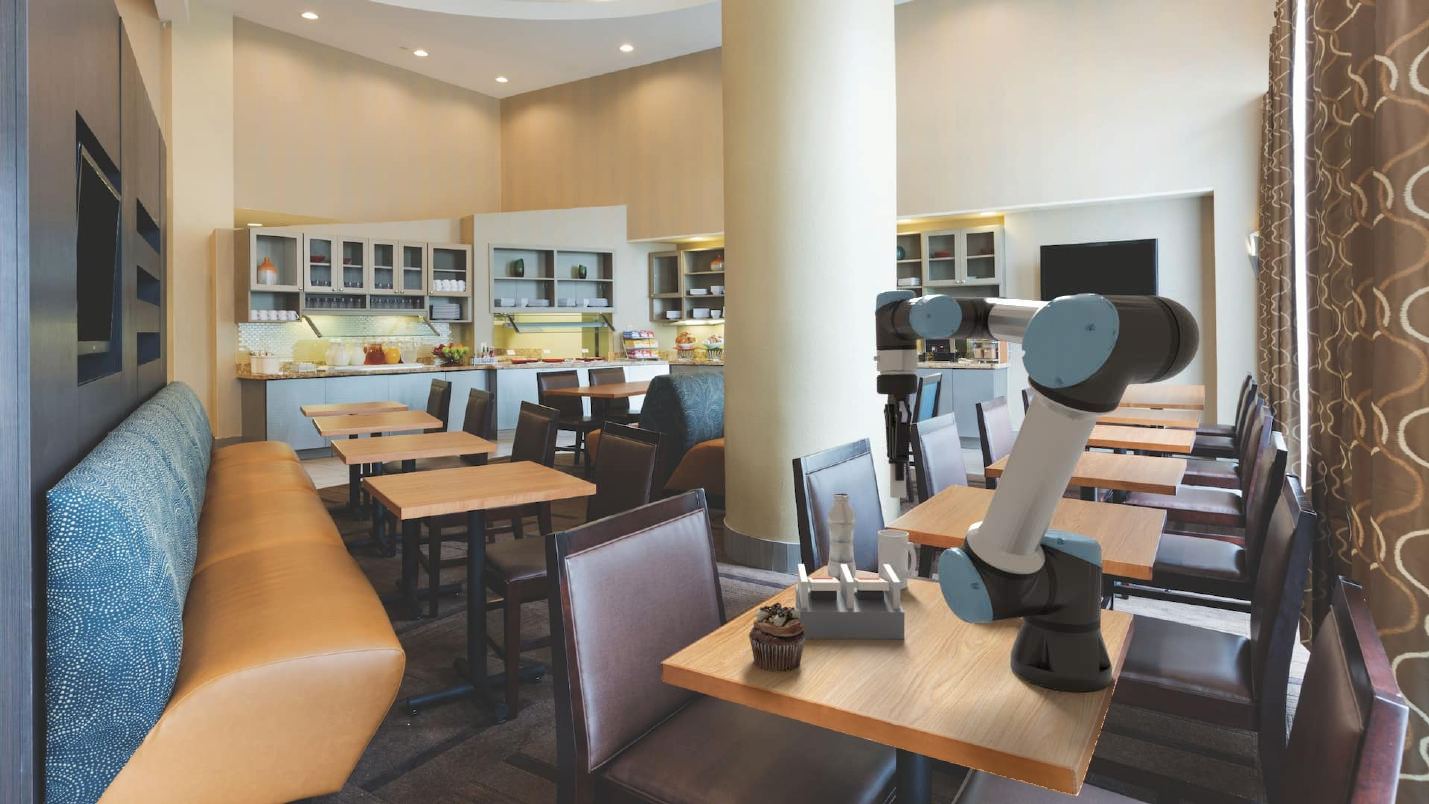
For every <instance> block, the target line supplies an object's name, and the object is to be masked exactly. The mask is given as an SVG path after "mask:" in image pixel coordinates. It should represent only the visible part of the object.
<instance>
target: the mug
mask: <svg viewBox="0 0 1429 804" xmlns="http://www.w3.org/2000/svg"><path fill="white" fill-rule="evenodd" d="M909 535H910V534H909V532H908V531H905V530H901V529H882V530H879V531H878V532H877V558H878V560H877V562H878V563H877V565H878V571H877V573H878V578H881V579H883V564H889V565H890V566H891V568H892V570H893V571H894V573H895V574H896V576H897V578H898V579H899V581H900V590H903V589H906V588H908V581H909V580H910V579H913V577H914V573H915V570H916V568H917V554H916V550H915V547H914V542H909V541H910V540H909V538H910V537H909ZM909 554H910V557H911V558H910V559H911V561H910V562H911V563H910V567H909ZM908 579H909V580H908Z"/></svg>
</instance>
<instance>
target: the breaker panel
mask: <svg viewBox="0 0 1429 804" xmlns="http://www.w3.org/2000/svg"><path fill="white" fill-rule="evenodd" d="M883 580H885V581H887V582H889V590H858V589H857V588H855V587H854V581H853V578H852V576H851V574H850V571H849V569H848V567H847V564H840V581H839V582H840V587H841V591H811V590H810V588H809V586H808V576H807V572H806V567H805V564H804V563H797V585H795V609H798V610H799V618H800V620H801V621H802V624H803V628H804V633H805V639H827V640H828V639H839V640H840V639H842V640H843V639H845V640H846V639H847V640H849V639H850V640H851V639H852V640H857V639H858V640H859V639H860V640H863V639H865V640H905V611H904V609H903V607H902V605H901V589H900V581H899V579H898V578H897V576H896V574H895V573H894V571H893V570H892V568H891V566H890V565H889V564H883Z"/></svg>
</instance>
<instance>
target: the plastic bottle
mask: <svg viewBox="0 0 1429 804" xmlns="http://www.w3.org/2000/svg"><path fill="white" fill-rule="evenodd" d="M832 503H834V504H833V505H832V507H831V508H830V509H829V511H828V512H827V516H826V517H827V525H828V532H829V552H828V553H829V556H828V563H827V568H826V569H827V570H826V571H827V574H828V577H832V578H836V579H837V580H838V581H839V582H840V564H847V567H848V569H849V571H850V574H851V576H852V578H856V577H855V576H856V573H857V567H856V561H855V553H854V533H855V526H856V514H855V513H854V511H853V509H852V507H851V506H850V503H851V499H850V494H849V493H846V492H836V493H833V500H832Z"/></svg>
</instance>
